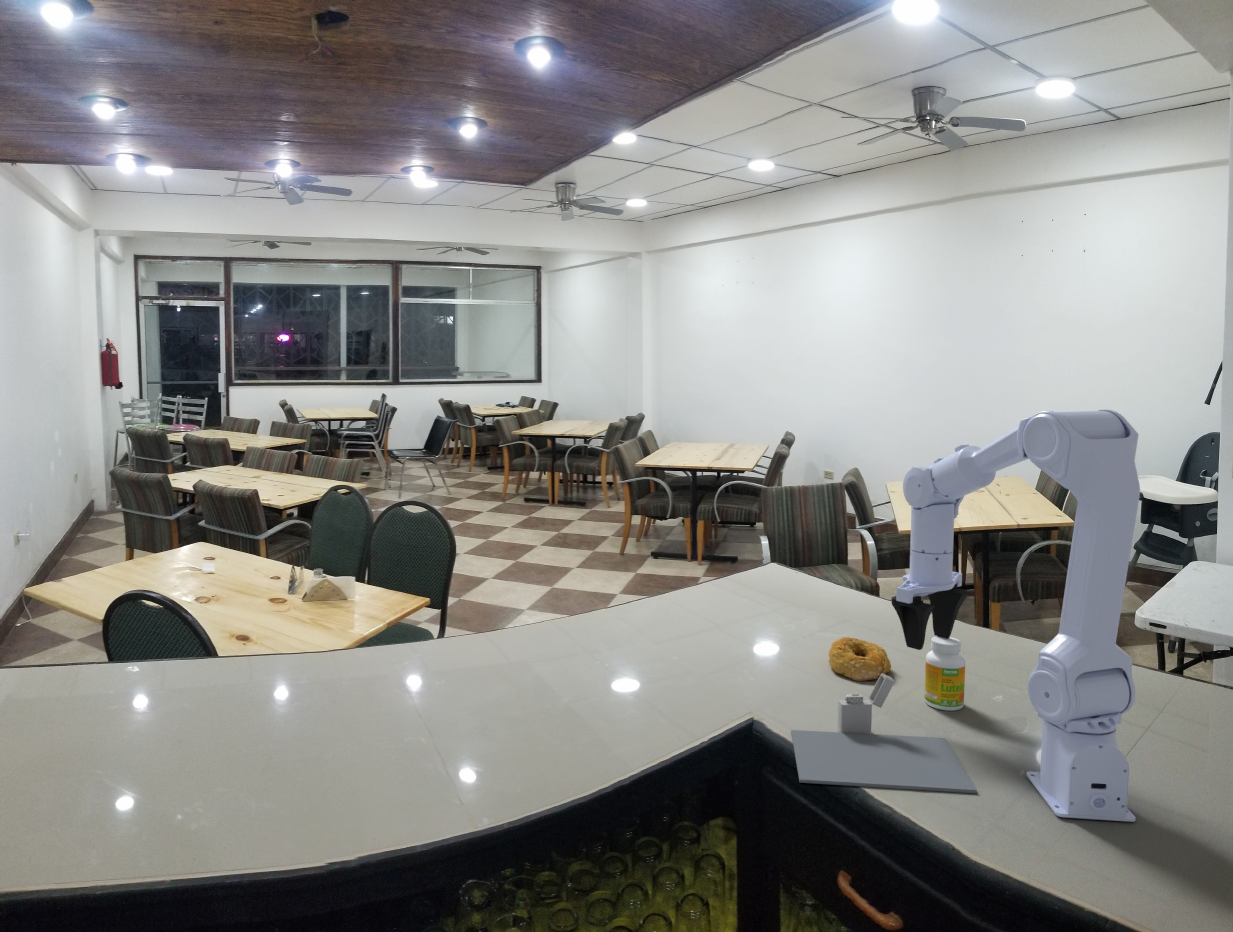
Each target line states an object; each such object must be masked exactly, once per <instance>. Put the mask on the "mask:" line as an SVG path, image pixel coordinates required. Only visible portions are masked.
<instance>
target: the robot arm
mask: <svg viewBox="0 0 1233 932" xmlns="http://www.w3.org/2000/svg"><path fill="white" fill-rule="evenodd" d="M1138 440H1139V433H1138V432H1137V430H1136V429H1135V428H1134V427H1133V426H1132V424H1131V423H1130V422H1129V421H1128V420H1127V419H1126V418H1125V416H1123V415H1122V414H1121V413H1119V412H1118V411H1115V410H1112V409H1099V410H1093V411H1092V410H1091V411H1090V410H1087V411H1084V410H1082V411H1053V410H1052V411H1051V410H1045V411H1043V410H1042V411H1039V412H1037V413H1035V414H1034V415H1032V416H1030V417H1027V418H1026V417H1025V418H1023V419H1021V420H1020V422H1019V424H1018V425H1017V426H1015V427H1014V428H1012V429H1011V430H1009V431H1008V432H1006V433H1004V434H1003V435H1001V436H999V437H998V438H996V439H994V440H993V441H992V442H990V443H988V444H987V445H985V446H983V447H979V446H977V445H970V444H960V445H957V446H955V447H954V452H953V453H952V454H950V455H948V456H946V457H942V458H939V457H938V458H936V459H935V460H933V464H931V465H929V467H922V466H912V468H910V470H908V471H907V472H906V474H905V475H904V478H903V481H902V482H903V483H902V490H903V491H902V492H903V496H904V499H905V501H906V502H907V503H908V505H909V506H911V510H910V511H911V512H910V517H911V518H910V541H909V542H910V545H909V546H910V547H909V551H910V552H909V573H907V574H904V575H902V581H903V583H902V584H901V585H900V586H897V587H896V595H894V596H892V597H891V605H892V607H893V608H894V610H895V612H896V614H897V616H898V618H899V621H900V625H901V628H902V631H903V636H904V641H905V645H906V647H907V648H911V649H914V650H918V651H921V650H923V649H924V644H925V640H926V632H927V627H928V621H929V618H930V616H931V618H932V631H933V635H934V637H936V636H939V637H943V638H947V639H948V638H950V637H951V635H952V632H953V628H954V626H955V625H954V624H955V622H956V618H957V616H958V613H959V611H960V609H961V607H962V605H963V603H964V601H965V600H966V599H967V597H968V590H966V589H963V588H959V587H962V586H963V585H962V584H963V573H962V572H957V571H953V568H954V567H953V565H954V563H953V560H954V535H955V532H954V531H955V528H954V527H955V519H957V518H958V517H957V516H958V515H959V507H960V505H961V503H962V501H963V500H964V499H965V498H964V497H966V496H967V495H969V494H971V493H974V492H976V491H978V490H980V489H984V488H985V487H988V486H989V485H991V483H993V481H994V480H995V477H996V473H997V472H999V471H1002V470H1003V469H1006V468H1008V467H1011V466H1013V465H1016V464H1019V463H1021V462H1023V461H1027V460H1030V461H1031V463H1033V465H1034V466H1035V467H1037V468H1038V469H1039V470H1041V471H1042V472H1043V473H1045V474H1046V475H1048V476H1049V477H1050V478H1051V479H1052V480H1054V481H1056V483H1058V484H1059V485H1061V486H1062V487H1063V489H1066V490H1068V491H1069V492H1070V493H1071V495H1073V497H1075V499H1076V501H1077V504H1076V509H1075V510H1076V512H1075V517H1074V523H1073V524H1074V526H1073V529H1072V538H1071V545H1070V552H1069V559H1068V566H1067V573H1066V579H1065V585H1064V586H1065V587H1064V594H1063V600H1062V607H1061V615H1060V619H1059V627H1058V633H1057V635H1055V636H1054V638H1053V639H1051V640H1050V641H1049V642H1048V643H1047V644H1046V645H1045V646H1044V647H1043V648H1041V650H1040V651H1039V652H1038V656H1037V657H1038V658H1037V661H1036V662H1037V663H1036V665H1035V667H1034V668H1033V669H1032V670H1031V672H1030V673H1029V676H1028V679H1027V693H1028V698H1029V701H1030V702H1031V706H1032V707H1033V708H1034V709H1035V711H1036V713H1037V717H1039V718H1041V720H1042V725H1041V726H1042V727H1041V746H1040V747H1041V748H1040V750H1041V751H1040V766H1039V767H1040V768H1039V769H1040V771H1026V774H1025V775H1026V777H1027V778H1028V779H1029V781H1030V783H1031V784H1032V785H1033V786H1034V788H1035V789H1036V790H1037V792H1038V793H1039V795H1040V796H1041V797H1042V799H1044V801H1045V802H1046V803H1047V805H1048V806H1049V807H1050V809H1051V810H1052V812H1053V813H1054V815H1056V816H1057V817H1060V818H1067V819H1069V818H1070V819H1083V820H1100V821H1117V822H1130V823H1131V822H1136V816H1135V815H1134V814H1133V813H1132V812H1131V810H1130V809H1129V808H1128V796H1129V780H1130V779H1129V777H1130V766H1129V762H1128V760H1127V757H1126V756H1125V754H1124V753H1123V751H1122V750H1121V749H1120V747H1119V744H1118V741H1117V727H1118V725H1122V715H1123V714H1126V713H1128V712H1129V711H1130V710H1131V709H1132V707H1133V706H1134V703H1135V700H1136V687H1135V683H1134V680H1133V675H1132V670H1133V669H1132V668H1133V663H1134V660H1133V658H1132V657H1131V656H1130V655H1129V654H1128V653H1127V652H1125V650H1123V649H1122V648H1121V647H1120V646H1119V645H1118V644H1117V638H1118V632H1119V631H1118V630H1119V625H1120V620H1121V619H1120V618H1121V612H1122V608H1123V602H1124V601H1123V600H1124V594H1125V589H1126V583H1127V577H1128V570H1129V563H1130V557H1131V550H1132V546H1133V545H1132V544H1133V539H1134V534H1135V533H1134V532H1135V526H1136V519H1137V514H1138V508H1139V501H1140V495H1141V494H1140V493H1141V487H1140V486H1141V485H1140V482H1139V476H1138V472H1137V467H1136V466H1137V465H1136V462H1135V461H1136V460H1135V459H1136V452H1137V447H1138ZM926 596H928V599H929V603H926V602H924V600H922V598H923V597H926Z"/></svg>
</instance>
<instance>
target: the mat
mask: <svg viewBox="0 0 1233 932" xmlns="http://www.w3.org/2000/svg"><path fill="white" fill-rule="evenodd" d="M790 734H791V738H792V739H791V740H792V746H793V751H794V757H795V763H796V770H797V774H798V781H799V783H802V784H803V783H805V784H817V785H818V784H819V785H820V784H821V785H831V786H832V785H836V786H848V787H849V786H850V787H851V786H853V787H865V788H866V787H867V788H868V787H869V788H880V789H881V788H883V789H899V790H900V789H901V790H915V791H934V792H945V793H946V792H949V793H950V792H951V793H964V794H966V793H968V794H977V792H978V791H977V788H976V787H975V785H974V783H973V782H972V779H971V778H970V776H969V775H968V773H967V772H966V770H965V769H964V767H963V765H962V764H961V761H960V760H959V758H958V757H957V755H956V753H955V752H954V749H952V747H951V745H950V744H949V742H948V740H947V738H946V737H935V736H917V735H916V736H914V735H896V734H895V735H894V734H875V733H871V734H860V733H841V732H839V731H837V732H836V731H818V730H801V729H800V730H799V729H798V730H797V729H791V731H790Z"/></svg>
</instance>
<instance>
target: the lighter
mask: <svg viewBox="0 0 1233 932" xmlns="http://www.w3.org/2000/svg"><path fill="white" fill-rule="evenodd" d="M894 685H895V679H894V678H892V677H891V676H889V675H887V674H886V675H885V674H883V673H882V674H881V675H880V677H879V676H878V678H877V681H876V683H875V685H874V687H873V689H872V690H871V692H870V694H869V696H868V699H867V698H865V699H864V695H863V694H862V693H848V694H847V695H846V696H845V697H844V699H838V705H837V708H838V709H837V710H838V712H837V732H841V733H860V734H872V724H873V723H872V720H873V719H872V717H873V715H872V714H873V706H876V707H878V708H880V709H881V708H882V707H883V706H884V703H885V702H886V700H887V698H888V696H889V693H890V691H891V690H892V687H893V686H894Z"/></svg>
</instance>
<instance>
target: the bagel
mask: <svg viewBox="0 0 1233 932" xmlns="http://www.w3.org/2000/svg"><path fill="white" fill-rule="evenodd" d="M828 658H829V659H828V663H829V665H830V667H831V669H832V670H833V672H834V673H836V674H839V675H842V676H844V677H847V678H849V679H852V680H853V681H855V682H864V681H871V680H872V681H873V680H876V679H877V680H878V679H879V677H880V675H881V674H882V673H883V674H885V675H887V674H888V673H890V671H891V668H892V663H891V661H890V659H889V657H888V654H887V652H886V650H885V649H884V648H883V647H882V646H879V645H878V644H877V643H873V642H869V641H866V640H863V639H859V638H856V637H855V638H854V637H849V636H846V637H845V636H844V637H842V638H840V639H839V638H838V639H837V640H835V641H833V642H832V643H831V647H830V649H829V651H828Z"/></svg>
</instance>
